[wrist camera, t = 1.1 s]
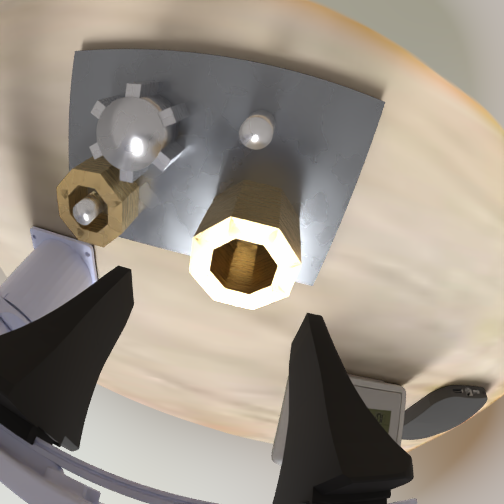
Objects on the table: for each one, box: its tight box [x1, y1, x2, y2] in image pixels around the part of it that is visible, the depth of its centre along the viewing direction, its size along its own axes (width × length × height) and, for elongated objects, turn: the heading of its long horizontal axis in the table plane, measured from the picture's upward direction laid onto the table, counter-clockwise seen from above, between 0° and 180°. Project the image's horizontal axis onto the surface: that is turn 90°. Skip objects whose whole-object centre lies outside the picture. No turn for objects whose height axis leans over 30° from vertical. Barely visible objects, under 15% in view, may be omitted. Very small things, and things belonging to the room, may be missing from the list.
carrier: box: [56, 49, 385, 286], centre depth 17 cm, size 14×20×4 cm
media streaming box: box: [402, 385, 487, 440], centre depth 34 cm, size 15×15×3 cm
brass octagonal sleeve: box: [189, 179, 302, 310], centre depth 18 cm, size 6×6×5 cm
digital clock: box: [272, 374, 406, 465], centre depth 27 cm, size 16×9×11 cm, turn 59°
